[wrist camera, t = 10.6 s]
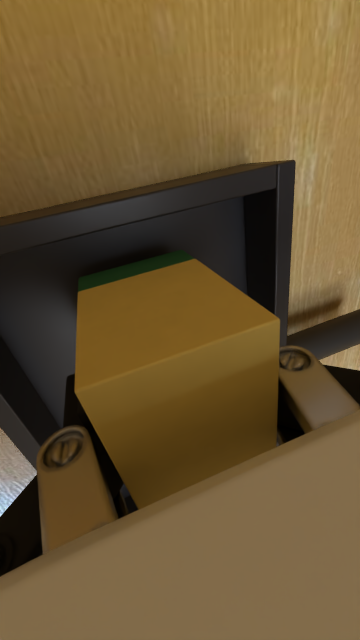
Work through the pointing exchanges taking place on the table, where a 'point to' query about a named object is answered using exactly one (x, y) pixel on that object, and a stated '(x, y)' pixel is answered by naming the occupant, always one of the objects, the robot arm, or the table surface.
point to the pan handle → (329, 336)
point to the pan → (121, 249)
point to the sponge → (175, 372)
